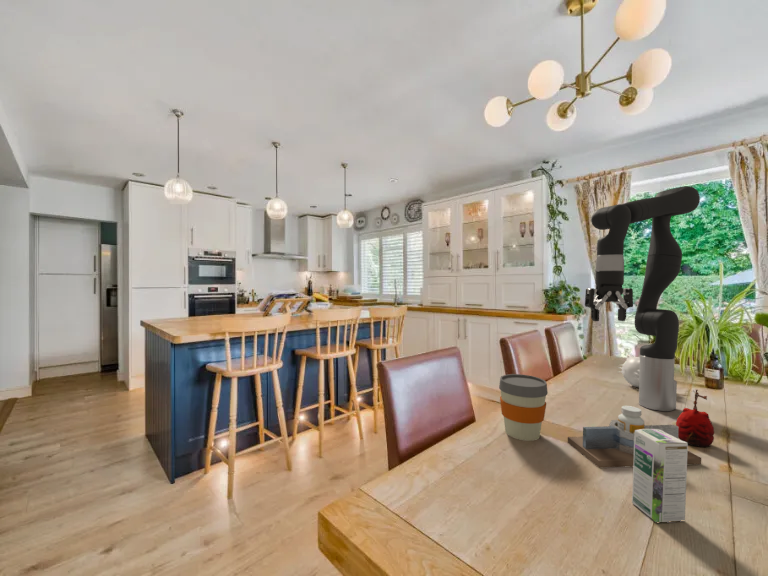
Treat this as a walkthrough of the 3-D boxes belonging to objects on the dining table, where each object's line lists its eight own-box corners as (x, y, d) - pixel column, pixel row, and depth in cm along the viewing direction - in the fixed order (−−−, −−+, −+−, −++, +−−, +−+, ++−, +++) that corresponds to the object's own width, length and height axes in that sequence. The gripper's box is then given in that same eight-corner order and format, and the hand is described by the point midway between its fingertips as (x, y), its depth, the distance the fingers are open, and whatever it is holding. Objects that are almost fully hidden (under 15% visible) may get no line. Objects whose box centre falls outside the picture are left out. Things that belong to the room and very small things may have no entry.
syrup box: (630, 502, 66) (632, 428, 65) (658, 501, 66) (660, 427, 66) (656, 524, 60) (658, 443, 60) (687, 522, 60) (689, 441, 60)
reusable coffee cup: (546, 428, 98) (547, 377, 98) (547, 447, 87) (548, 389, 87) (501, 420, 104) (501, 371, 103) (496, 438, 92) (496, 383, 92)
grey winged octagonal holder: (660, 437, 90) (661, 418, 90) (692, 454, 81) (692, 433, 81) (573, 439, 88) (573, 420, 88) (596, 457, 80) (596, 436, 80)
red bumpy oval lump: (713, 443, 90) (715, 387, 90) (714, 452, 85) (715, 393, 85) (675, 434, 95) (677, 380, 95) (674, 442, 90) (675, 386, 90)
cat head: (673, 393, 129) (673, 361, 129) (638, 393, 129) (638, 361, 129) (643, 381, 144) (644, 353, 144) (612, 381, 144) (612, 352, 144)
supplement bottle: (614, 445, 85) (614, 407, 85) (621, 439, 89) (621, 402, 88) (640, 454, 81) (640, 414, 81) (646, 447, 84) (647, 409, 84)
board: (656, 439, 92) (657, 434, 92) (701, 464, 80) (701, 457, 80) (567, 442, 90) (567, 436, 90) (599, 467, 78) (599, 461, 78)
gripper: (621, 270, 111) (620, 319, 112) (580, 270, 111) (579, 319, 111) (640, 269, 104) (639, 322, 104) (596, 269, 103) (595, 322, 103)
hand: (608, 321), depth 108 cm, fingers open, 8 cm apart
